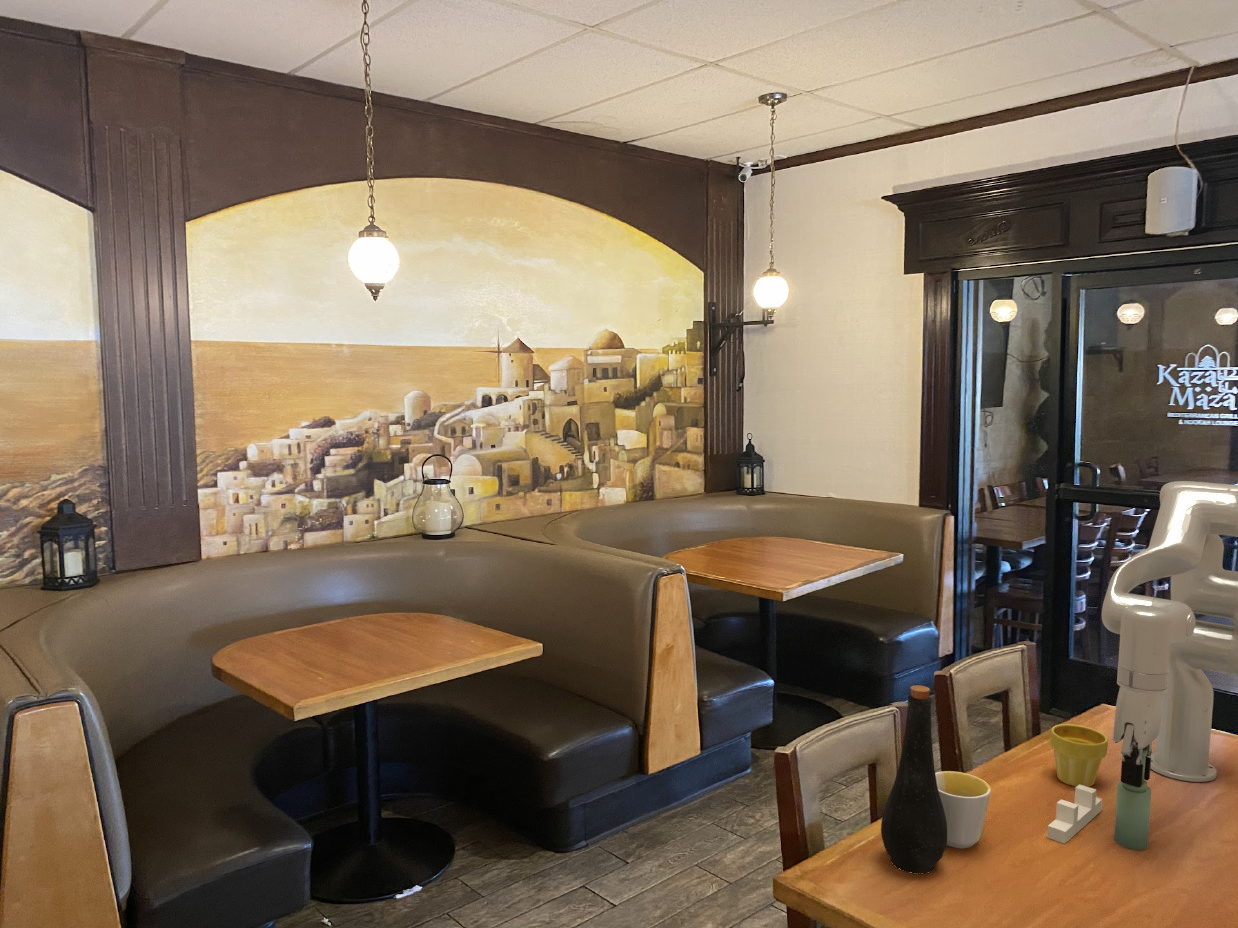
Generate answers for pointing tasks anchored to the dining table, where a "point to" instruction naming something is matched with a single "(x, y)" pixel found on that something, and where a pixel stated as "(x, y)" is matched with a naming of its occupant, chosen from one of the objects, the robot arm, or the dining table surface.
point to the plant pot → (1078, 753)
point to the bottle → (915, 796)
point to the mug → (963, 806)
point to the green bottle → (1133, 813)
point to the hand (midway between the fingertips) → (1135, 779)
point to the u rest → (1074, 814)
